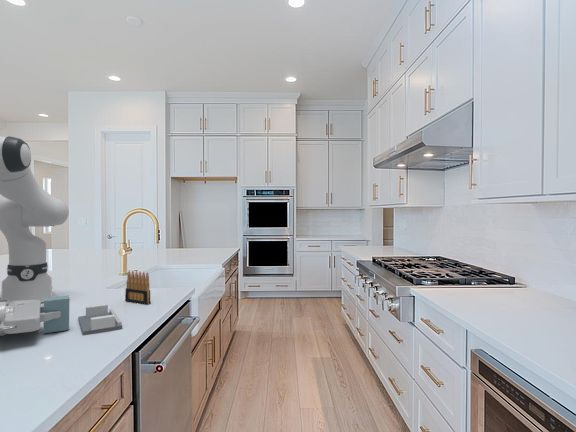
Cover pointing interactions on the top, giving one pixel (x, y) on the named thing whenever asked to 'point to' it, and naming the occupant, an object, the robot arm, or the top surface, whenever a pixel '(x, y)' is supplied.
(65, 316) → the block
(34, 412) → the top surface
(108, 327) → the mounting board
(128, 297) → the ammunition clip
